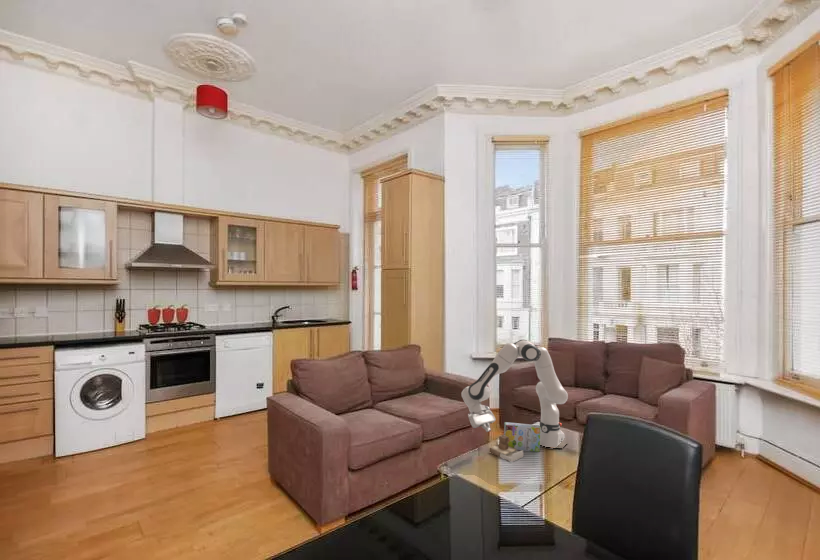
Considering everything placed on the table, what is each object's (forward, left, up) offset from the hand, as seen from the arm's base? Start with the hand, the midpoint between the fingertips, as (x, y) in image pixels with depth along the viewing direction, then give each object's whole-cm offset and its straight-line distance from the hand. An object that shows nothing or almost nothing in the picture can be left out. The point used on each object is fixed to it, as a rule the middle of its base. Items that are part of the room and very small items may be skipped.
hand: (489, 431), depth 254 cm
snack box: (-16, +13, -10) cm, 23 cm away
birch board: (0, +11, -10) cm, 15 cm away
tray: (0, +17, -10) cm, 20 cm away
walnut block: (0, +11, -7) cm, 13 cm away
